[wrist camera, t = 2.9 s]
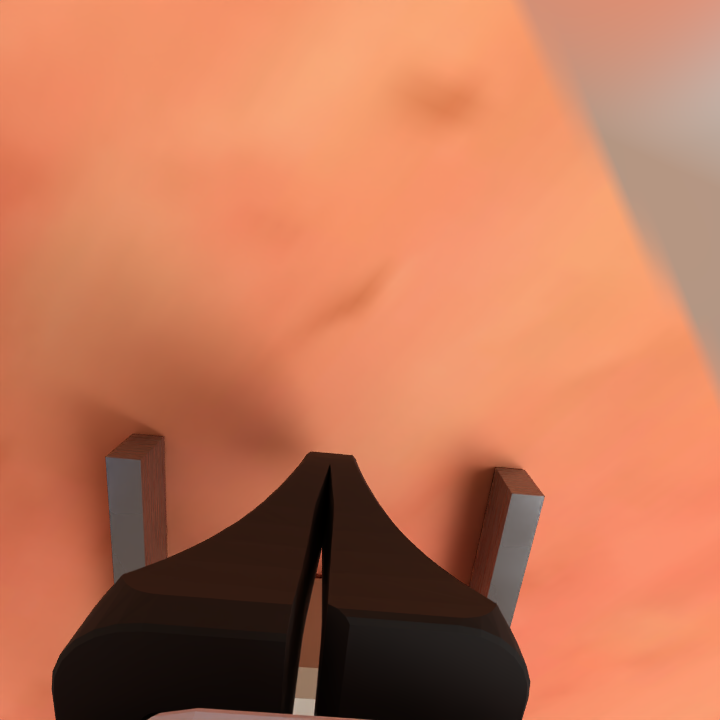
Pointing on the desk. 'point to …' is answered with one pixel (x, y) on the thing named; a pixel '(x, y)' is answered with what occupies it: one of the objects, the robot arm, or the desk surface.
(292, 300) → the desk surface
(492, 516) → the track
